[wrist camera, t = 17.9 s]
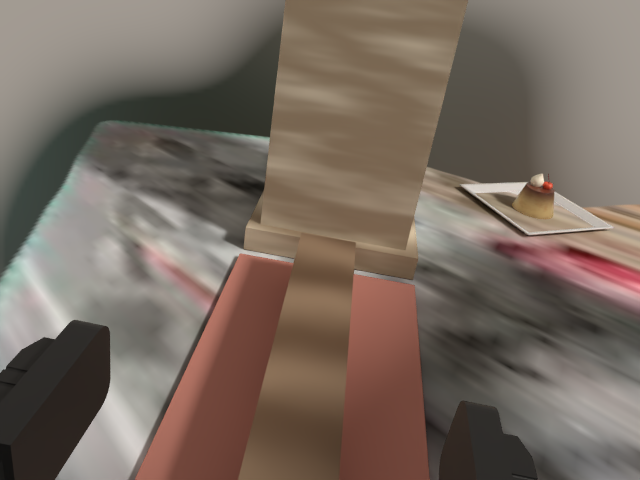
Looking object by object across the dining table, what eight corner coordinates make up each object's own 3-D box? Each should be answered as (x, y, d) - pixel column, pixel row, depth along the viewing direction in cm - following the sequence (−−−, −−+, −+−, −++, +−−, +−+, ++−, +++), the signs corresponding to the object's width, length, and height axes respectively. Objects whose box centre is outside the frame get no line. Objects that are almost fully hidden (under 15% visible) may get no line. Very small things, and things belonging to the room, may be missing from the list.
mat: (239, 257, 46) (239, 253, 46) (413, 289, 46) (414, 285, 46) (71, 623, 22) (70, 617, 22) (443, 696, 21) (445, 690, 21)
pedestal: (276, 177, 62) (324, -213, 46) (406, 201, 62) (499, -184, 46) (243, 249, 48) (296, -279, 32) (412, 279, 47) (549, -238, 32)
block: (294, 279, 44) (301, 232, 42) (346, 288, 44) (355, 242, 42) (217, 597, 23) (224, 532, 21) (317, 615, 23) (333, 552, 21)
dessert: (610, 236, 63) (628, 196, 61) (525, 244, 58) (540, 200, 56) (535, 189, 72) (548, 153, 70) (456, 193, 67) (467, 154, 65)
